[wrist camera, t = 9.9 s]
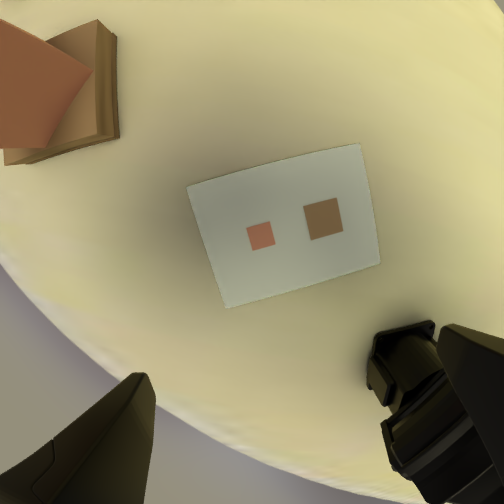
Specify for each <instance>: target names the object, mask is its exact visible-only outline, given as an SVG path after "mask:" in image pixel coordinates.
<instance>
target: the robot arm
mask: <svg viewBox="0 0 504 504" xmlns="http://www.w3.org/2000/svg"><path fill="white" fill-rule="evenodd" d="M434 329H435V323H434V322H433V321H432V320H430V321H426V322H423V323H419V324H415V325H411V326H407V327H403V328H399V329H395V330H391V331H386V332H382V333H378V334H377V335H376V336H375V338H374V343H373V350H372V356H371V357H370V360H369V366H368V372H367V387H368V389H369V390H373V391H374V392H375V394H376V396H377V398H378V399H379V401H380V403H381V405H382V406H384V407H386V406H388V407H389V409H390V411H391V413H392V414H393V415H391V416H390V417H389V418H388V419H387V420H386V419H385V420H384V421H383V422H381V423H380V425H381V428H382V434H383V438H384V442H385V446H386V450H387V454H388V458H389V462H390V464H391V467H392V469H393V471H395V472H398V473H399V474H400V475H401V476H402V477H404V478H405V479H407V480H409V481H413V482H414V484H415V485H416V487H417V488H418V490H419V491H420V493H421V495H422V496H423V498H424V500H425V501H426V502H427V503H429V504H444V503H446V502H447V503H452V504H504V339H502V338H499V337H495V336H492V335H489V334H486V333H482V332H479V331H476V330H473V329H469V328H466V327H463V326H460V325H456V324H448V325H445V326H443V327H442V328H441V330H440V334H439V338H438V342H436V341H435V340H434V339H433V334H434ZM380 338H381V339H380ZM379 339H380V340H379ZM155 405H156V396H155V392H154V390H153V387H152V384H151V382H150V379H149V377H148V375H147V374H146V373H144V372H135V373H132V374H130V375H129V376H128V377H127V378H125V379H124V380H123V381H122V382H121V383H119V384H118V385H117V386H116V387H115V388H114V389H112V390H111V391H110V392H109V393H107V394H106V395H105V396H104V397H103V398H101V399H100V400H99V401H98V402H97V403H95V404H94V405H93V406H92V407H90V408H89V409H88V410H87V411H86V412H84V413H83V414H82V415H81V416H80V417H78V418H77V419H76V420H75V421H73V422H72V423H71V424H70V425H69V426H67V427H66V428H65V429H64V430H62V431H61V432H60V433H59V434H58V435H56V436H55V437H54V438H53V440H50V441H49V442H47V443H46V444H45V445H44V446H42V447H41V448H40V449H39V450H37V451H36V452H34V454H32V455H30V456H29V457H27V458H26V459H25V460H23V461H22V462H20V463H19V464H17V465H16V466H14V467H12V468H11V469H9V470H7V471H6V472H4V473H2V474H1V475H0V504H143V503H144V496H145V490H146V483H147V477H148V470H149V464H150V458H151V453H152V446H153V436H154V419H155Z"/></svg>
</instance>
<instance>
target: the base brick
mask: <svg viewBox="0 0 504 504" xmlns="http://www.w3.org/2000/svg"><path fill="white" fill-rule="evenodd" d="M45 42H47V43H49V44H50V45H52V46H54V47H56V48H57V49H59V50H61V51H62V52H64V53H66V54H67V55H69V56H71V57H72V58H74V59H76V60H77V61H79V62H80V63H82V64H84V65H85V66H87V67H89V68H90V69H92V70H93V72H92V74H91V75H90V76H89V78H88V79H87V81H86V82H85V83H84V85H83V86H82V88H81V89H80V91H79V92H78V94H77V95H76V97H75V98H74V100H73V101H72V103H71V104H70V106H69V107H68V109H67V111H66V112H65V114H64V116H63V117H62V119H61V121H60V122H59V124H58V126H57V127H56V129H55V131H54V133H53V134H52V136H51V138H50V140H49V142H48V144H47V146H46V147H45V148H3V151H4V165H5V166H8V165H18V164H33V163H36V162H39V161H42V160H45V159H48V158H51V157H54V156H57V155H60V154H63V153H66V152H70V151H73V150H76V149H80V148H83V147H87V146H91V145H94V144H98V143H102V142H106V141H110V140H114V139H118V138H120V137H119V124H118V108H117V80H116V47H117V36H116V35H115V34H114V33H111V32H110V31H109V30H108V29H107V28H106V27H105V26H104V25H103V24H102V23H101V22H100V21H99V20H98V19H97V20H94V21H91V22H89V23H86V24H83V25H81V26H78V27H76V28H74V29H71V30H69V31H67V32H64V33H62V34H60V35H58V36H55V37H53V38H51V39H49V40H47V41H45Z"/></svg>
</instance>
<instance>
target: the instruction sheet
mask: <svg viewBox="0 0 504 504" xmlns="http://www.w3.org/2000/svg"><path fill="white" fill-rule="evenodd" d="M186 189H187V193H188V196H189V199H190V202H191V206H192V209H193V212H194V215H195V218H196V222H197V225H198V228H199V231H200V234H201V237H202V240H203V243H204V246H205V249H206V252H207V255H208V258H209V261H210V264H211V267H212V270H213V273H214V276H215V279H216V282H217V285H218V288H219V291H220V293H221V296H222V299H223V302H224V305H225V308H226V309H228V308H232V307H236V306H239V305H243V304H247V303H251V302H254V301H258V300H262V299H265V298H269V297H272V296H276V295H280V294H283V293H287V292H290V291H294V290H297V289H300V288H304V287H307V286H311V285H314V284H317V283H321V282H324V281H327V280H330V279H334V278H337V277H340V276H343V275H347V274H350V273H353V272H356V271H359V270H362V269H365V268H368V267H371V266H374V265H378V264H381V263H380V254H379V246H378V238H377V231H376V224H375V218H374V212H373V206H372V200H371V194H370V189H369V184H368V179H367V174H366V169H365V164H364V160H363V155H362V151H361V147H360V143H357V144H351V145H346V146H341V147H336V148H332V149H327V150H322V151H318V152H313V153H309V154H304V155H300V156H296V157H292V158H287V159H283V160H279V161H275V162H271V163H267V164H264V165H260V166H256V167H252V168H249V169H245V170H241V171H238V172H234V173H231V174H227V175H224V176H220V177H217V178H214V179H210V180H207V181H204V182H200V183H197V184H194V185H191V186H188V187H186Z"/></svg>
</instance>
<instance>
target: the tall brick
mask: <svg viewBox="0 0 504 504" xmlns="http://www.w3.org/2000/svg"><path fill="white" fill-rule="evenodd" d="M92 72H93V70H92V69H90V68H89V67H87V66H85V65H84V64H82V63H80V62H79V61H77V60H76V59H74V58H72V57H71V56H69V55H67V54H66V53H64V52H62V51H61V50H59V49H57V48H56V47H54V46H52V45H50V44H49V43H47V42H45V41H43V40H41V39H40V38H38V37H36V36H34V35H32V34H30V33H28V32H26V31H24V30H22V29H20V28H18V27H16V26H14V25H12V24H10V23H8V22H6V21H4V20H2V19H0V149H3V148H45V147H46V146H47V144H48V142H49V140H50V138H51V136H52V134H53V133H54V131H55V129H56V127H57V126H58V124H59V122H60V121H61V119H62V117H63V116H64V114H65V112H66V111H67V109H68V107H69V106H70V104H71V103H72V101H73V100H74V98H75V97H76V95H77V94H78V92H79V91H80V89H81V88H82V86H83V85H84V83H85V82H86V81H87V79H88V78H89V76H90V75H91V74H92Z"/></svg>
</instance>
